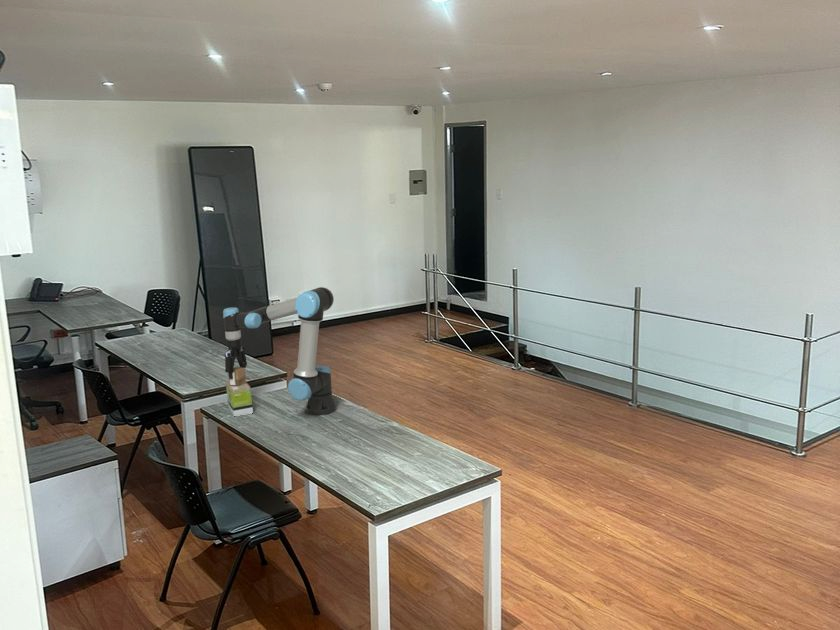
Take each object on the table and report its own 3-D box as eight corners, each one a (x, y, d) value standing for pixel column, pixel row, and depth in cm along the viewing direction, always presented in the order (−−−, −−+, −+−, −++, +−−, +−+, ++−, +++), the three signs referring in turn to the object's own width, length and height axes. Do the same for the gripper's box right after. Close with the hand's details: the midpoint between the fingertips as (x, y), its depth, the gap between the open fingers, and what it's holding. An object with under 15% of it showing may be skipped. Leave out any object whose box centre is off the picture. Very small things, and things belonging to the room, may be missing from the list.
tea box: (228, 409, 391) (225, 382, 388) (247, 406, 395) (244, 379, 392) (233, 417, 378) (230, 389, 375) (253, 414, 382) (251, 386, 379)
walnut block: (246, 382, 385) (244, 367, 384) (239, 386, 380) (237, 370, 378) (236, 382, 388) (235, 367, 386) (229, 385, 382) (227, 370, 381)
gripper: (239, 333, 390) (243, 376, 394) (214, 342, 371) (219, 387, 376) (251, 334, 387) (255, 377, 391) (227, 343, 368) (231, 388, 373)
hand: (237, 382), depth 384 cm, fingers open, 7 cm apart
